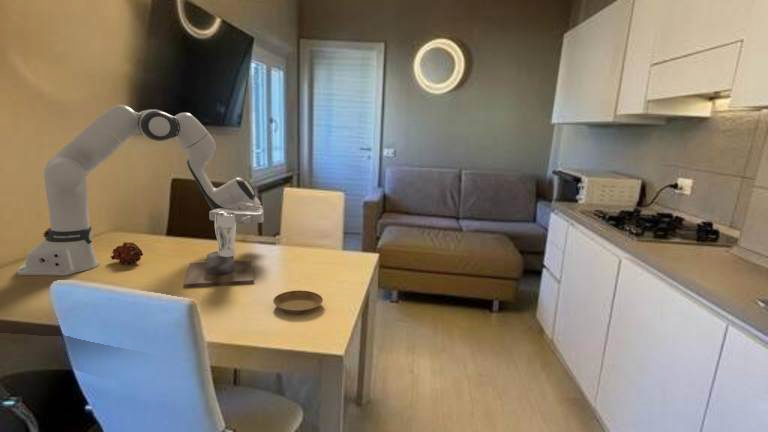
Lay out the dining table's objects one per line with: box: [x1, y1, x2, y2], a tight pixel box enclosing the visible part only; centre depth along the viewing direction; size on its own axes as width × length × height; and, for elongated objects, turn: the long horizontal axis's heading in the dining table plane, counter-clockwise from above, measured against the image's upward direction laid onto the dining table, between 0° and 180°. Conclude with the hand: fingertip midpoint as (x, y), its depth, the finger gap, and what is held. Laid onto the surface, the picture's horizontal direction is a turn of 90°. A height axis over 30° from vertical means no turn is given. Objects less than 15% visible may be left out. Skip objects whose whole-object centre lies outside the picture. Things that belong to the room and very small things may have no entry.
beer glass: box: [214, 212, 237, 258], centre depth 151 cm, size 7×7×15 cm
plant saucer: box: [272, 290, 324, 316], centre depth 131 cm, size 15×15×3 cm
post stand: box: [183, 250, 255, 288], centre depth 154 cm, size 22×22×7 cm
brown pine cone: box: [110, 241, 144, 265], centre depth 160 cm, size 8×8×12 cm
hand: (230, 220), depth 162 cm, fingers open, 8 cm apart
